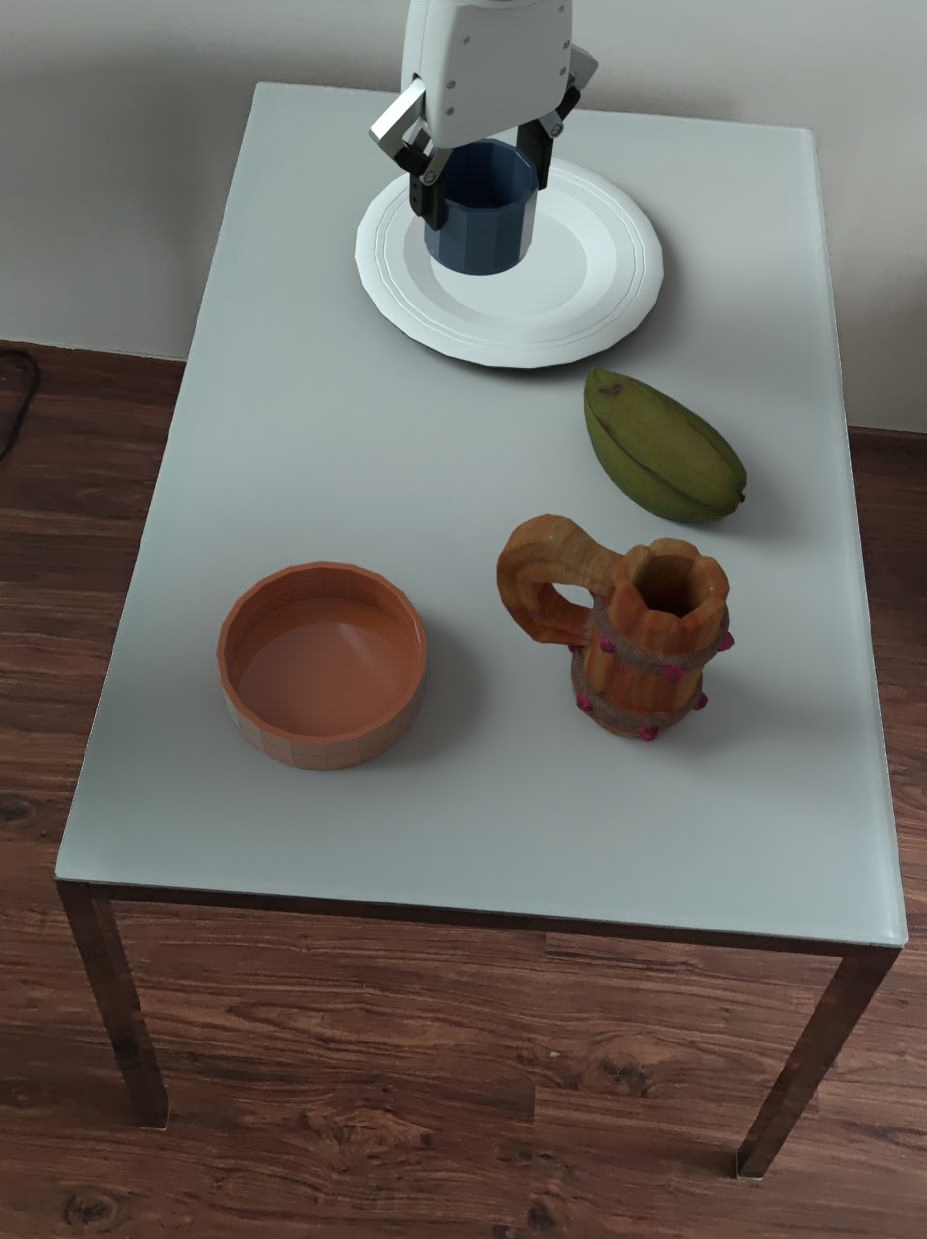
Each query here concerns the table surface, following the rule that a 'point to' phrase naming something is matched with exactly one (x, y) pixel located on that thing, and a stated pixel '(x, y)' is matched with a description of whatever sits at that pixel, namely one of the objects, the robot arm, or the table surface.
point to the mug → (620, 620)
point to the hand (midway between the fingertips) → (479, 196)
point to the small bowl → (485, 209)
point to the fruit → (661, 450)
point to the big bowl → (323, 665)
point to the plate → (520, 277)
